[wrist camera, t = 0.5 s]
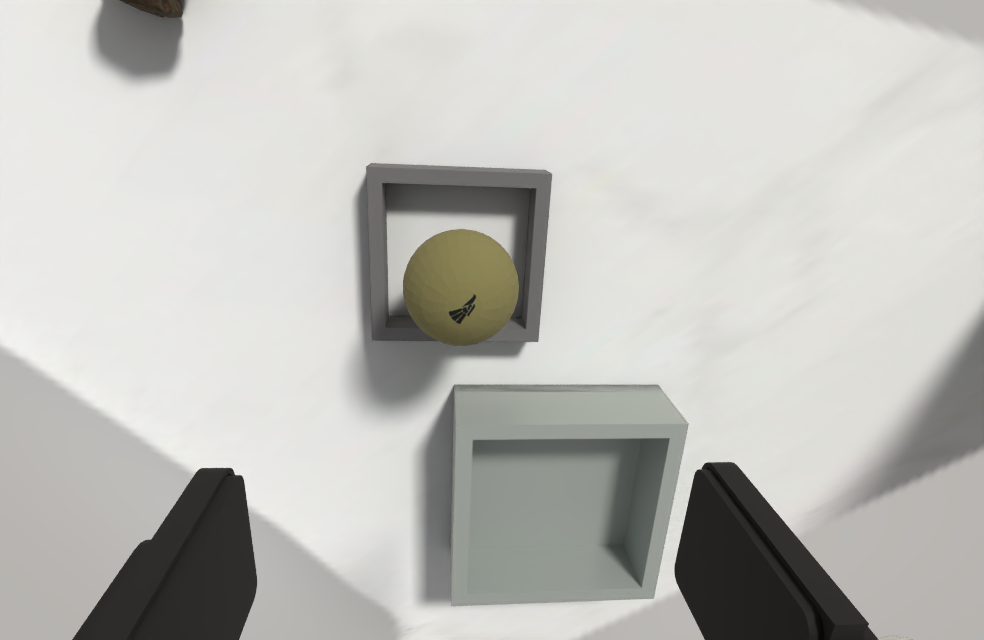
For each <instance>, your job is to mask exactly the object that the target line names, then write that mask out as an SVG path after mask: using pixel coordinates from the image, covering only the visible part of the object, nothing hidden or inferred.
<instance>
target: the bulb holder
mask: <svg viewBox="0 0 984 640" xmlns="http://www.w3.org/2000/svg"><path fill="white" fill-rule="evenodd" d="M366 173H367V202H368V231H369V260H370V290H371V319H372V340H383V341H438V340H435V339H434V338H432V337H431V336H429V335H427V334H426V333H425V332H423V331H422V330H421V329H420V328H419V327H418V326H417V324H416V323H415V322H414V320H413V319H412V317H411V316H389V311H388V266H387V222H386V183H402V184H430V185H458V186H485V187H513V188H531V192H530V206H529V221H528V235H527V249H526V264H525V278H524V292H523V307H522V318H510V320H509V321H508V322H507V323H506V325H505V326H504V327H503V328H502V329H501V330H500V331H499V332H497V333H496V334H495V335H494V336H492V337H490V338H489V339H487V340H485V341H496V342H538V338H539V326H540V314H541V302H542V290H543V278H544V266H545V254H546V241H547V229H548V217H549V205H550V193H551V181H552V174H551V173H550V172H548V171H546V170H529V169H504V168H478V167H453V166H427V165H402V164H376V163H371V164H369V165H368V166H367V167H366Z"/></svg>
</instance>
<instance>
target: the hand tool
mask: <svg viewBox="0 0 984 640" xmlns="http://www.w3.org/2000/svg"><path fill="white" fill-rule="evenodd" d="M120 1H122V2H124V3H126V4H129V5H131V6H133V7H135V8H137V9H139V10H142V11H145V12H148V13H151V14H155V15H158V16H160V17H164V16H166V17H170V18H175V17H182V14H183V12H182V8H181V6H180V4H179V2H178V0H120Z"/></svg>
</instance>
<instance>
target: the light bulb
mask: <svg viewBox="0 0 984 640" xmlns="http://www.w3.org/2000/svg"><path fill="white" fill-rule="evenodd" d="M403 294H404V299H405V304H406V307H407V309H408V311H409V314H410V316H411V317H412V319H413V320H414V322H415V323H416V324H417V326H418V327H419V328H420V329H421V330H422V331H423V332H425V333H426V334H427V335H429V336H431V337H432V338H434V339H435V340H438V341H440V342H443V343H446V344H451V345H461V346H466V345H472V344H477V343H480V342H482V341H485V340H487V339H489V338H490V337H492V336H494V335H495V334H496V333H497V332H499V331H500V330H501V329H502V328H503V327H504V326H505V325H506V323H507V322H508V321H509V320H510V318H511V316H512V314H513V312H514V310H515V307H516V305H517V300H518V295H519V281H518V274H517V271H516V268H515V265H514V263H513V261H512V259H511V258H510V256H509V254H508V253H507V252H506V251H505V249H504V248H503V247H502V246H501V245H500V244H499V243H498V242H496V241H495V240H493V239H492V238H491V237H489V236H487V235H485V234H483V233H480V232H477V231H472V230H465V229H458V230H450V231H445V232H442V233H440V234H437V235H435V236H433V237H431V238H430V239H428V240H426V241H425V242H424V243H423V244H422V245H421V246H420V247H419V248H418V249H417V250H416V251H415V253H414V254H413V256H412V257H411V259H410V261H409V263H408V265H407V268H406V271H405V274H404V280H403Z"/></svg>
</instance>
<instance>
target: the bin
mask: <svg viewBox="0 0 984 640" xmlns="http://www.w3.org/2000/svg"><path fill="white" fill-rule="evenodd" d="M687 429H688V422H687V421H686V420H685V419H684V417H683V416H682V415H681V413H680V412H679V411H678V410H677V408H676V407H675V406H674V404H673V403H672V402H671V401H670V399H669V398H668V397H667V396H666V394H665V393H664V392H663V390H662V389H661V388H660V387H659V385H454V418H453V459H452V501H451V542H450V561H451V606H468V605H495V604H522V603H549V602H575V601H602V600H629V599H654V594H655V589H656V584H657V579H658V574H659V569H660V564H661V559H662V554H663V549H664V544H665V539H666V534H667V529H668V524H669V519H670V514H671V509H672V504H673V499H674V494H675V489H676V484H677V479H678V474H679V469H680V464H681V459H682V454H683V449H684V444H685V439H686V434H687Z"/></svg>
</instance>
